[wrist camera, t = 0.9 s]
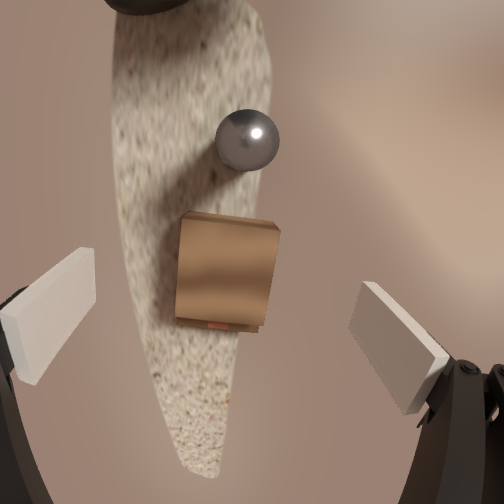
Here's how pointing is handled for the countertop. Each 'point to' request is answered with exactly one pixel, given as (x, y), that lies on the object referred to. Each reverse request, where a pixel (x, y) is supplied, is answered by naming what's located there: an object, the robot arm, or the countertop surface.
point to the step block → (225, 271)
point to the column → (247, 140)
